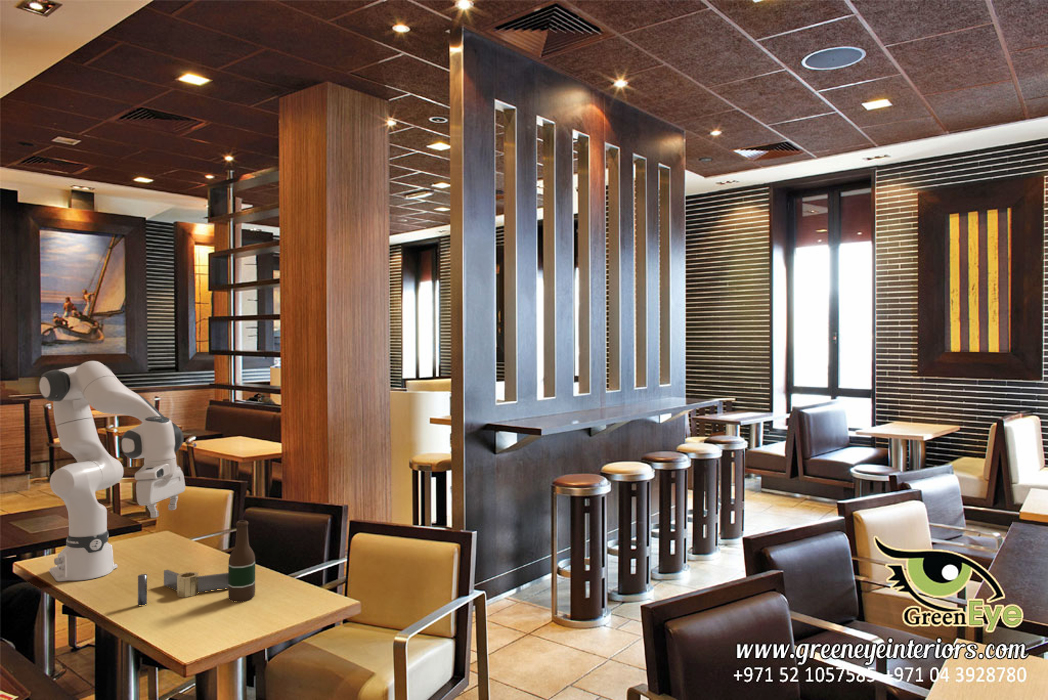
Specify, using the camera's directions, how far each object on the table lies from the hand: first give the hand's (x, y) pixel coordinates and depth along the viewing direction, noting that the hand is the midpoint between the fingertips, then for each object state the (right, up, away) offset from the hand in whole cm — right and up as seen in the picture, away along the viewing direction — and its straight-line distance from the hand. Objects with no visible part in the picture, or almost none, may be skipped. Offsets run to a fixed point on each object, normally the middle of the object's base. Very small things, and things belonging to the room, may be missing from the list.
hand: (164, 513), depth 213 cm
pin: (-4, -27, -5) cm, 27 cm away
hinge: (+5, -27, +10) cm, 29 cm away
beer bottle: (+23, -27, +2) cm, 36 cm away
